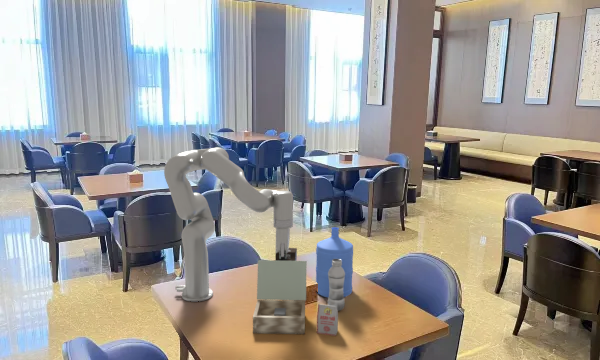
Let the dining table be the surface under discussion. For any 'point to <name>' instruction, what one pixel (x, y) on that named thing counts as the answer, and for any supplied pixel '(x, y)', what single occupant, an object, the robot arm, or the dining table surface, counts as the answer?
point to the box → (279, 317)
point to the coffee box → (289, 255)
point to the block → (280, 312)
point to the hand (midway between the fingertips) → (283, 267)
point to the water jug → (325, 255)
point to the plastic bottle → (336, 284)
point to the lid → (281, 280)
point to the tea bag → (327, 319)
